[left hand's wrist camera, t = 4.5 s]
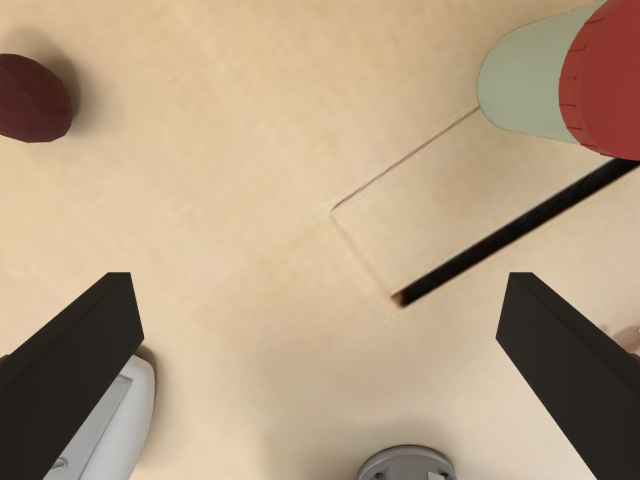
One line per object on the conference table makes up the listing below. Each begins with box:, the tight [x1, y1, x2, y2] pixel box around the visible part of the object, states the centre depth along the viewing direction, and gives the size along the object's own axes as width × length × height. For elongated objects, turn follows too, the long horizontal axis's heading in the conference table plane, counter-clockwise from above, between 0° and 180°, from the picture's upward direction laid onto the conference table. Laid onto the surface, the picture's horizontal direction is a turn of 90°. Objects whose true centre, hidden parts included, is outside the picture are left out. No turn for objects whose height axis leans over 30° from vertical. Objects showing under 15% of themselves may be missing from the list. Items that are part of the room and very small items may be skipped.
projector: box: [43, 355, 155, 480], centre depth 45 cm, size 22×23×15 cm
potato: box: [0, 54, 72, 143], centre depth 33 cm, size 7×8×7 cm
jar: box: [477, 0, 607, 145], centre depth 29 cm, size 10×10×15 cm
